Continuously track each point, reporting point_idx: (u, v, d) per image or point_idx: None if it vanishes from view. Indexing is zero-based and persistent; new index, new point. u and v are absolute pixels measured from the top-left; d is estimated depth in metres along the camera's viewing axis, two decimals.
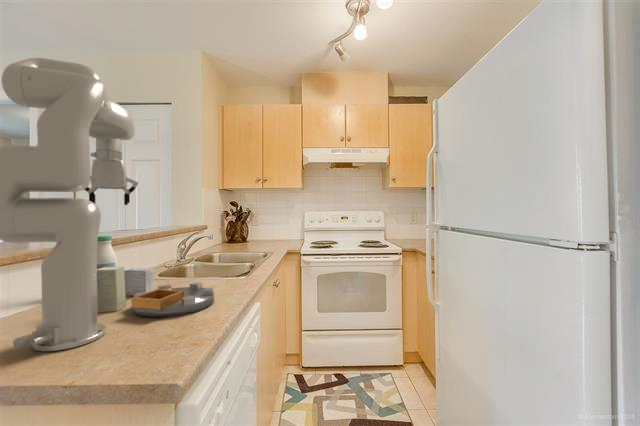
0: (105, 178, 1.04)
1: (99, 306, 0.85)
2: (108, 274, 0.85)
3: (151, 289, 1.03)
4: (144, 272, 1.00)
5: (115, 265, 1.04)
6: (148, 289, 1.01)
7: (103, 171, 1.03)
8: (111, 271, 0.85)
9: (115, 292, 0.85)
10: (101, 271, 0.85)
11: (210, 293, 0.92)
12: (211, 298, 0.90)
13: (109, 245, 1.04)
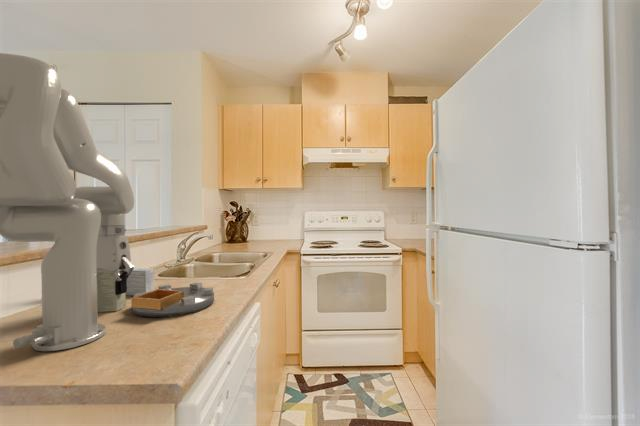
0: None
1: (99, 306, 0.85)
2: (108, 274, 0.85)
3: (151, 289, 1.03)
4: (144, 272, 1.00)
5: None
6: (148, 289, 1.01)
7: None
8: None
9: None
10: (101, 271, 0.85)
11: (210, 293, 0.92)
12: (211, 298, 0.90)
13: None
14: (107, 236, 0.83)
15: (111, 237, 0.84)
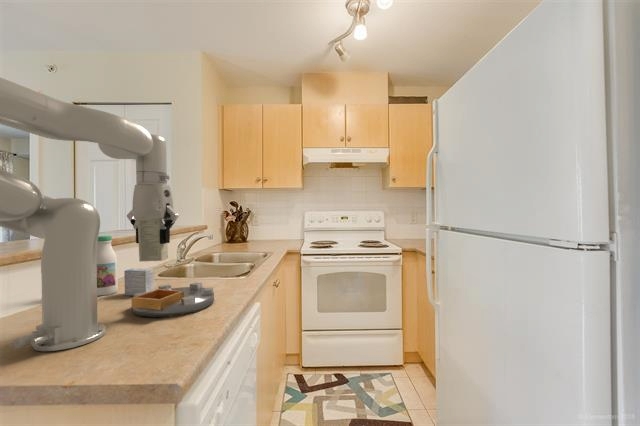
0: None
1: (143, 256, 0.82)
2: (152, 222, 0.82)
3: (151, 289, 1.03)
4: (144, 272, 1.00)
5: (115, 265, 1.04)
6: (148, 289, 1.01)
7: None
8: None
9: None
10: (145, 219, 0.82)
11: (210, 293, 0.92)
12: (211, 298, 0.90)
13: (109, 245, 1.04)
14: (152, 182, 0.81)
15: (156, 184, 0.81)
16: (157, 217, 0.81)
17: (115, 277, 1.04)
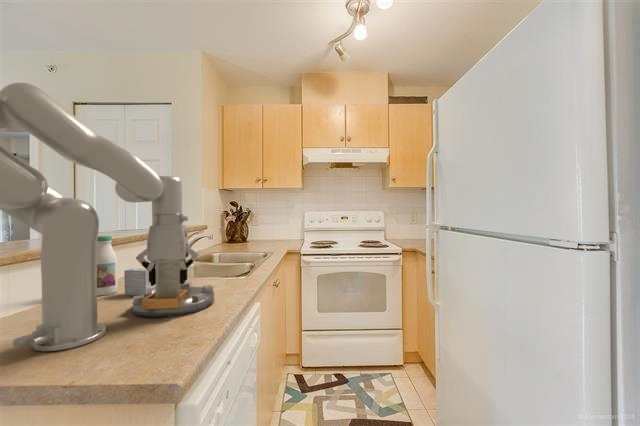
0: None
1: None
2: (172, 264, 0.82)
3: None
4: (144, 272, 1.00)
5: (115, 265, 1.04)
6: None
7: None
8: (175, 261, 0.83)
9: (179, 282, 0.83)
10: (164, 262, 0.81)
11: (211, 290, 0.95)
12: (213, 294, 0.94)
13: (109, 245, 1.04)
14: (174, 224, 0.82)
15: (177, 225, 0.82)
16: (179, 258, 0.83)
17: (115, 277, 1.04)
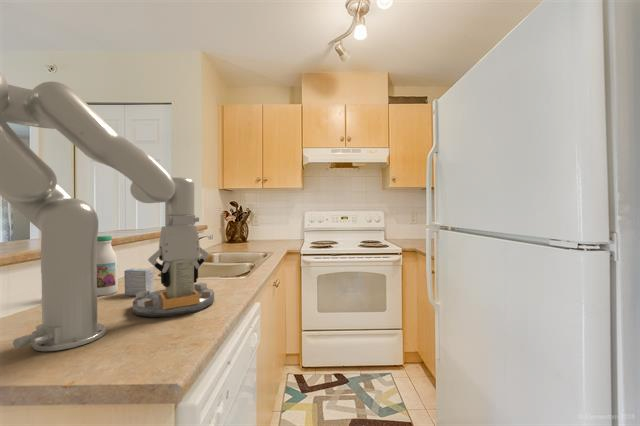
0: None
1: None
2: (187, 264, 0.84)
3: (151, 289, 1.03)
4: (144, 272, 1.00)
5: (115, 265, 1.04)
6: (148, 289, 1.02)
7: None
8: (190, 260, 0.85)
9: (193, 281, 0.86)
10: (181, 261, 0.83)
11: (205, 287, 0.99)
12: None
13: (109, 245, 1.04)
14: (192, 225, 0.85)
15: (194, 226, 0.86)
16: (194, 257, 0.86)
17: (115, 277, 1.04)
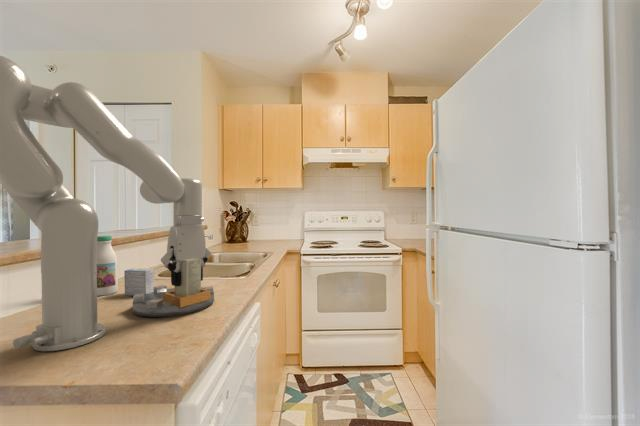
0: None
1: None
2: (196, 262, 0.87)
3: (151, 289, 1.03)
4: (144, 272, 1.00)
5: (115, 265, 1.04)
6: (148, 289, 1.02)
7: None
8: (198, 259, 0.88)
9: (200, 279, 0.89)
10: (192, 260, 0.85)
11: None
12: None
13: (109, 245, 1.04)
14: (201, 225, 0.88)
15: (201, 226, 0.89)
16: (201, 256, 0.89)
17: (115, 277, 1.04)
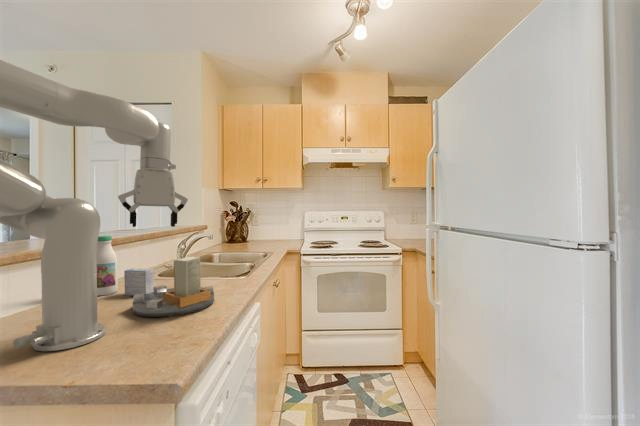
0: None
1: None
2: (195, 263, 0.87)
3: (151, 289, 1.03)
4: (144, 272, 1.00)
5: (115, 265, 1.04)
6: (148, 289, 1.02)
7: None
8: (197, 259, 0.88)
9: None
10: (191, 261, 0.85)
11: None
12: None
13: (109, 245, 1.04)
14: (166, 170, 0.84)
15: (168, 171, 0.85)
16: (168, 203, 0.85)
17: (115, 277, 1.04)
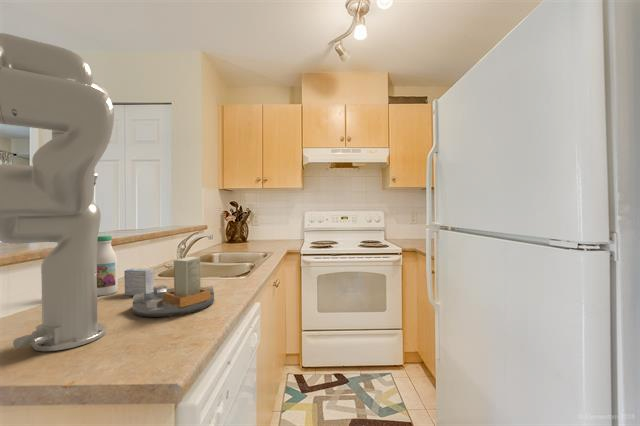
0: None
1: None
2: (195, 263, 0.87)
3: (151, 289, 1.03)
4: (144, 272, 1.00)
5: (115, 265, 1.04)
6: (148, 289, 1.02)
7: None
8: (197, 259, 0.88)
9: None
10: (191, 261, 0.85)
11: None
12: None
13: (109, 245, 1.04)
14: None
15: None
16: None
17: (115, 277, 1.04)
